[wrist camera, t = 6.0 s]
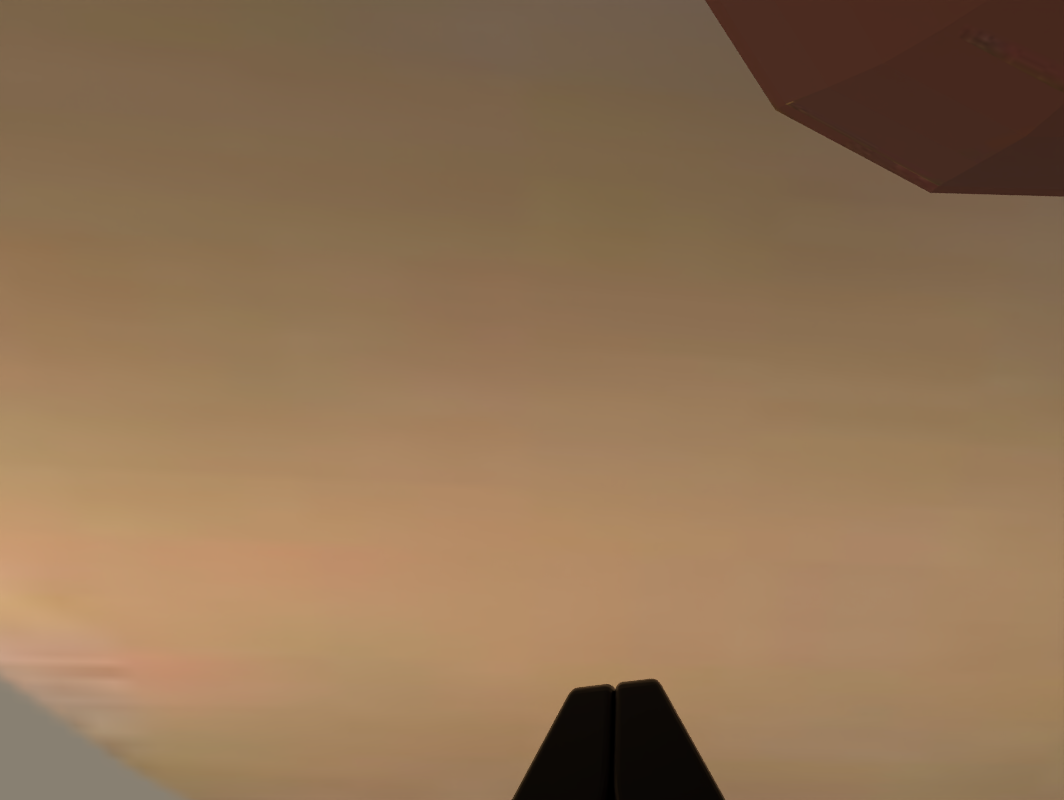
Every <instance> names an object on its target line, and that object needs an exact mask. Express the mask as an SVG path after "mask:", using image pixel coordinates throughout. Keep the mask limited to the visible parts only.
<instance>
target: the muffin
mask: <svg viewBox="0 0 1064 800" xmlns="http://www.w3.org/2000/svg"><path fill="white" fill-rule="evenodd" d="M705 1H706V2H707V4H708V5H709V7H710V8H711V10H712V12H713V13H714V15H715V16H716V18H717V19H718V21H719V23H720V24H721V26H722V27H723V29H724V30H725V32H726V33H727V35H728V37H729V38H730V40H731V41H732V43H733V44H734V46H735V47H736V49H737V51H738V52H739V54H740V55H741V57H742V58H743V60H744V62H745V63H746V65H747V66H748V68H749V69H750V71H751V72H752V74H753V76H754V77H755V79H756V80H757V82H758V83H759V85H760V87H761V88H762V90H763V91H764V93H765V94H766V96H767V97H768V99H769V101H770V102H771V104H772V105H773V107H774V108H775V110H777V111H778V112H780V113H782V114H784V115H786V116H788V117H790V118H792V119H793V120H795V121H797V122H799V123H801V124H803V125H805V126H807V127H808V128H810V129H812V130H814V131H816V132H818V133H820V134H822V135H823V136H825V137H827V138H829V139H831V140H833V141H835V142H837V143H838V144H840V145H842V146H844V147H846V148H848V149H850V150H852V151H853V152H855V153H857V154H859V155H861V156H863V157H865V158H867V159H868V160H870V161H872V162H874V163H876V164H878V165H880V166H882V167H883V168H885V169H887V170H889V171H891V172H893V173H895V174H897V175H898V176H900V177H902V178H904V179H906V180H908V181H910V182H911V183H913V184H915V185H917V186H919V187H921V188H923V189H925V190H926V191H928V192H930V193H961V194H996V195H1031V196H1064V0H705Z"/></svg>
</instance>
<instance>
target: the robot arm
mask: <svg viewBox="0 0 1064 800" xmlns="http://www.w3.org/2000/svg"><path fill="white" fill-rule="evenodd" d="M512 800H725V798H724V797H723V795H722V793H721V791H720V789H719V788H718V786H717V784H716V782H715V780H714V779H713V777H712V775H711V773H710V771H709V770H708V768H707V766H706V764H705V762H704V761H703V759H702V757H701V755H700V754H699V752H698V750H697V748H696V746H695V745H694V743H693V741H692V739H691V737H690V736H689V734H688V732H687V730H686V728H685V727H684V725H683V723H682V721H681V719H680V718H679V716H678V714H677V712H676V710H675V709H674V707H673V705H672V703H671V702H670V700H669V698H668V696H667V694H666V693H665V691H664V689H663V687H662V685H661V684H660V683H659V682H658V681H657V680H655V679H645V680H637V681H628V682H621V683H619V684H618V685H617V687H616V690H615V688H614V687H613V686H611V685H609V684H603V685H595V686H587V687H579V688H575V689H573V690H572V691H571V692H570V693H569V695H568V697H567V698H566V700H565V702H564V704H563V706H562V708H561V710H560V711H559V713H558V715H557V717H556V719H555V721H554V723H553V724H552V726H551V728H550V730H549V732H548V734H547V736H546V737H545V739H544V741H543V743H542V745H541V747H540V749H539V750H538V752H537V754H536V756H535V758H534V760H533V762H532V764H531V765H530V767H529V769H528V771H527V773H526V775H525V777H524V778H523V780H522V782H521V784H520V786H519V788H518V790H517V791H516V793H515V795H514V797H513V799H512Z"/></svg>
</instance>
